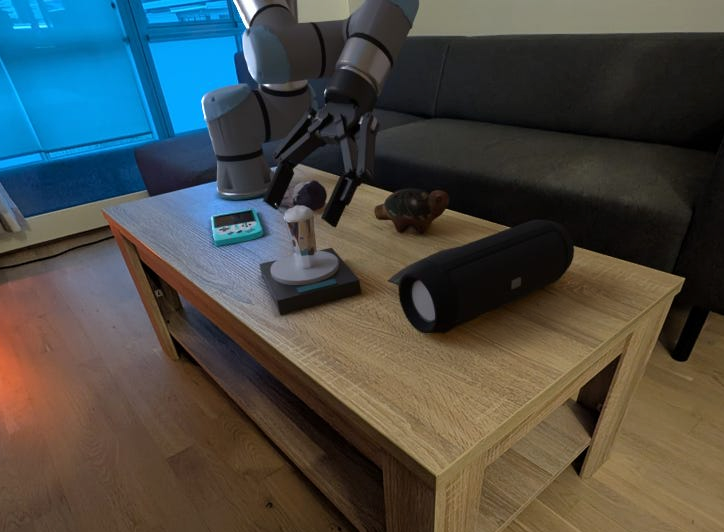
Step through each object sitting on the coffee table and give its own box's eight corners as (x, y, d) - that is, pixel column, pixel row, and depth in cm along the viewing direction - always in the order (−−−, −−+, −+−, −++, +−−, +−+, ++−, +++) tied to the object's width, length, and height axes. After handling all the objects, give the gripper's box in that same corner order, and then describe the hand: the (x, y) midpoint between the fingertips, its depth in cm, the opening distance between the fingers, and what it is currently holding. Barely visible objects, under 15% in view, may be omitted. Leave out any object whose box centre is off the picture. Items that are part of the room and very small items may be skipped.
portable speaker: (440, 353, 57) (442, 283, 51) (395, 320, 63) (392, 255, 57) (571, 290, 67) (586, 225, 61) (521, 267, 74) (530, 207, 68)
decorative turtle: (447, 239, 85) (445, 197, 80) (371, 241, 89) (364, 201, 84) (453, 218, 92) (452, 178, 87) (382, 220, 96) (377, 182, 91)
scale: (262, 277, 77) (257, 259, 75) (333, 260, 80) (331, 243, 78) (280, 315, 67) (275, 295, 65) (361, 294, 70) (359, 275, 68)
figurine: (289, 192, 110) (337, 183, 102) (289, 219, 111) (337, 212, 103) (259, 182, 102) (308, 172, 94) (259, 211, 103) (308, 204, 95)
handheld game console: (214, 246, 89) (212, 240, 88) (211, 220, 101) (209, 214, 100) (264, 237, 91) (263, 231, 90) (255, 213, 103) (254, 207, 102)
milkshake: (289, 260, 74) (276, 199, 68) (321, 256, 74) (311, 195, 68) (287, 272, 70) (274, 209, 64) (321, 268, 71) (311, 205, 64)
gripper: (434, 106, 63) (371, 243, 64) (316, 97, 77) (265, 210, 78) (410, 66, 57) (340, 218, 58) (286, 64, 71) (231, 187, 71)
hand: (297, 214), depth 68 cm, fingers open, 13 cm apart
